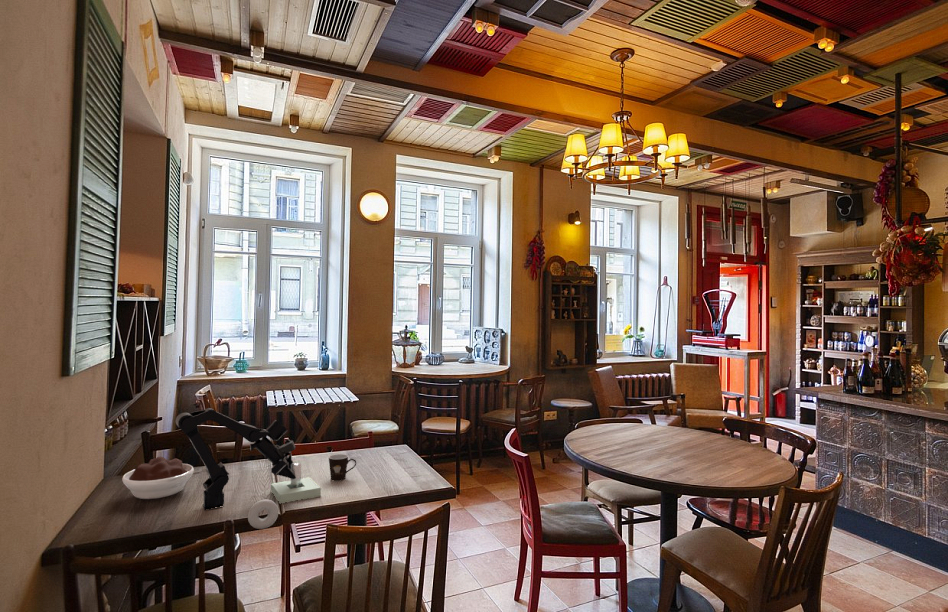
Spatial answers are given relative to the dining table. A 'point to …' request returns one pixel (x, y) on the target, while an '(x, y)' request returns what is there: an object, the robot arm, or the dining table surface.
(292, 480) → the steel pin
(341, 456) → the coffee mug
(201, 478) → the dining table surface
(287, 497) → the socket block
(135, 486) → the bowl of chocolate pudding
